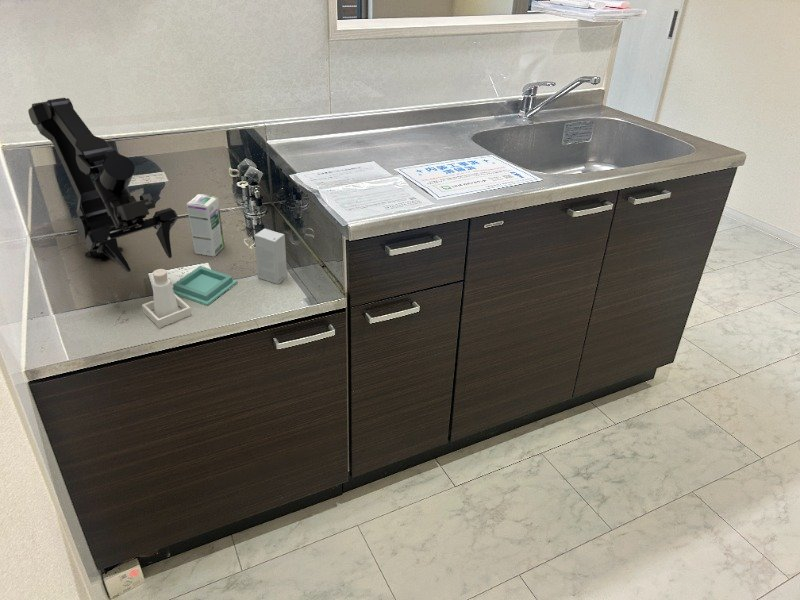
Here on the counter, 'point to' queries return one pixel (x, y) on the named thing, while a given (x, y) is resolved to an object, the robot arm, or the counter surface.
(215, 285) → the teal square tray
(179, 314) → the white square tray
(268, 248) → the skincare box
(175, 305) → the pepper shaker
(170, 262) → the counter surface
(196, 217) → the syrup box
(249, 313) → the counter surface
